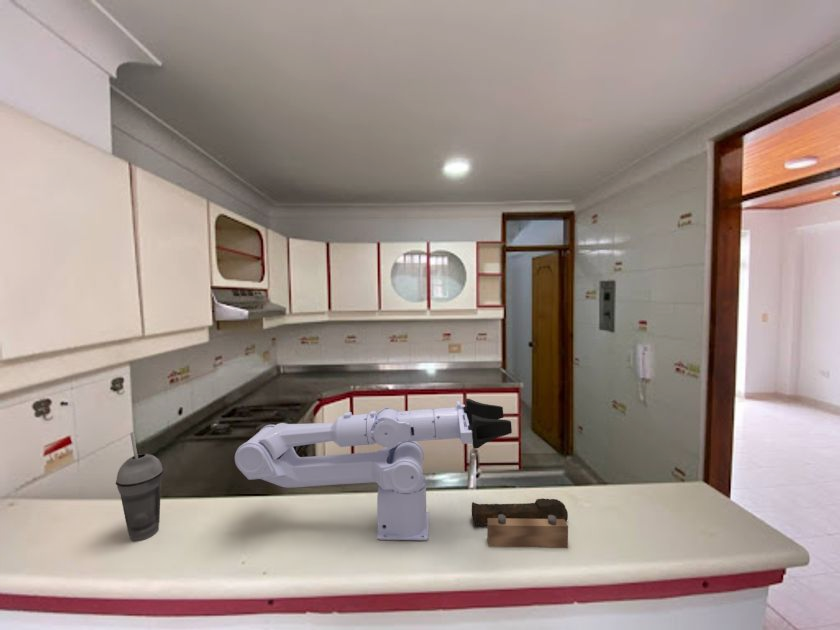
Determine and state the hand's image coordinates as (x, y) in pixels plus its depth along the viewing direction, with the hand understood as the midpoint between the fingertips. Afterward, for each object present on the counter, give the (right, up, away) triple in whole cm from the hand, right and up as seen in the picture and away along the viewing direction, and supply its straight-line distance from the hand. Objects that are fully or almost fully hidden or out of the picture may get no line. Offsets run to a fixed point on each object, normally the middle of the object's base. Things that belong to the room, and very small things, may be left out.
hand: (506, 419), depth 68 cm
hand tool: (+3, -22, +4) cm, 22 cm away
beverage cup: (-70, -23, +2) cm, 73 cm away
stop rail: (+3, -22, -3) cm, 22 cm away
